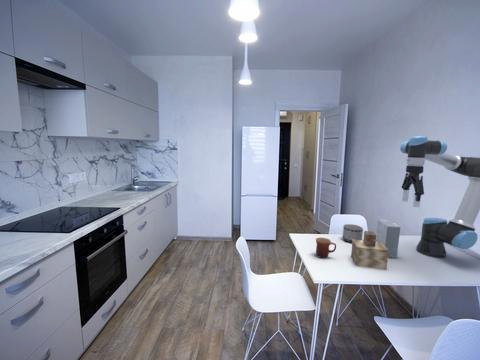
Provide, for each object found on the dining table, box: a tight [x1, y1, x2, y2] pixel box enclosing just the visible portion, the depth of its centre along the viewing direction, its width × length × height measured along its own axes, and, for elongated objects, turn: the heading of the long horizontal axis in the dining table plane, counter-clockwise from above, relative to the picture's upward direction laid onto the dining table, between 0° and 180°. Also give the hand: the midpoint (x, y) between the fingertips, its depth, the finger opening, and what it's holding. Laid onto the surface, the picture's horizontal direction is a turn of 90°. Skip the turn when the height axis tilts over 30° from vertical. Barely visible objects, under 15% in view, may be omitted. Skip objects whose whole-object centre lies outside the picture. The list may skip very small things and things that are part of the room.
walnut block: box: [362, 230, 377, 247], centre depth 137 cm, size 5×5×7 cm
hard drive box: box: [376, 218, 401, 259], centre depth 152 cm, size 16×8×20 cm, turn 168°
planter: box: [342, 223, 364, 244], centre depth 171 cm, size 13×13×10 cm
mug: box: [315, 237, 337, 259], centre depth 145 cm, size 12×9×10 cm
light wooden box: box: [350, 242, 389, 270], centre depth 138 cm, size 16×12×10 cm
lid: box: [352, 239, 388, 252], centre depth 138 cm, size 16×12×1 cm
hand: (410, 204), depth 130 cm, fingers open, 13 cm apart
